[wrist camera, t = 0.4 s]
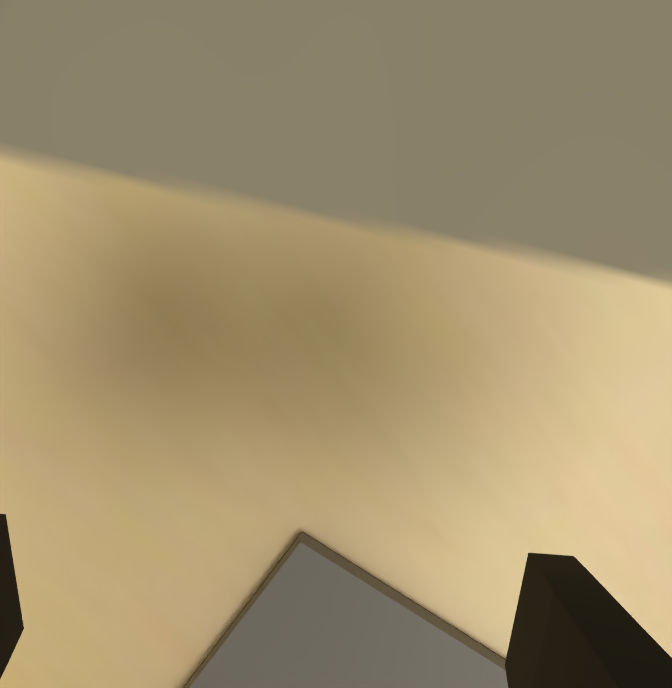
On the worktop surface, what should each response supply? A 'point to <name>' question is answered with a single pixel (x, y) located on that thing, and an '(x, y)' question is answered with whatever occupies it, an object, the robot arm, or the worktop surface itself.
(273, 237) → the worktop surface
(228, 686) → the mat
